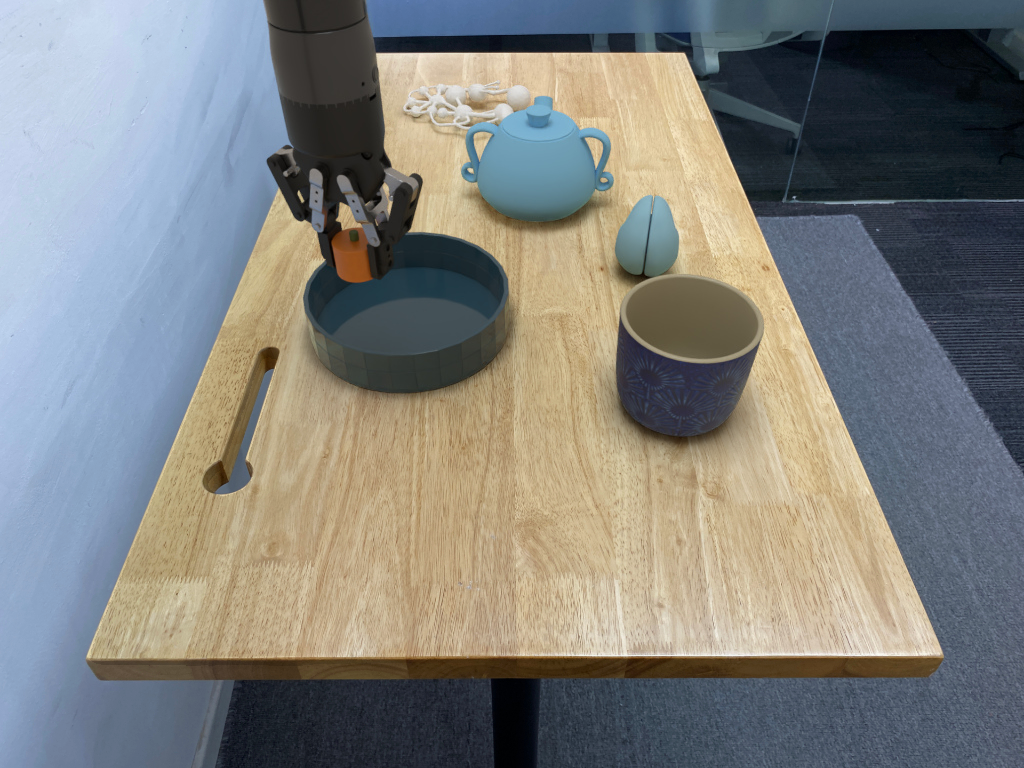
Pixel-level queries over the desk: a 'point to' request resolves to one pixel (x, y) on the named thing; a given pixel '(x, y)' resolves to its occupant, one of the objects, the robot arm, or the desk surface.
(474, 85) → the tangled rod sculpture
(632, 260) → the toy flower bud
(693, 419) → the planter
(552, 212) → the blue sugar bowl
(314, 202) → the robot arm
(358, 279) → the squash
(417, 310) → the bowl
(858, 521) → the desk surface
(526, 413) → the desk surface
